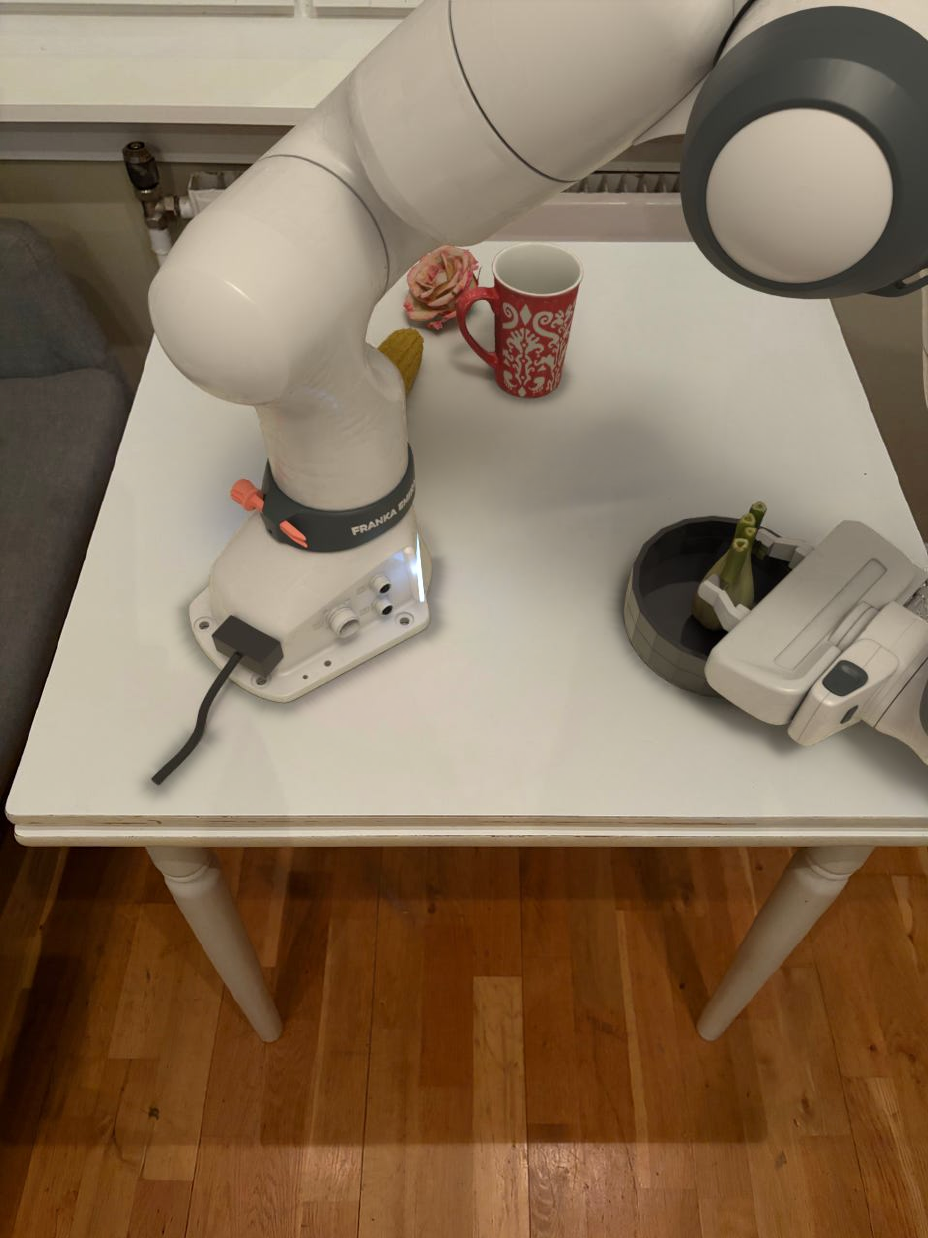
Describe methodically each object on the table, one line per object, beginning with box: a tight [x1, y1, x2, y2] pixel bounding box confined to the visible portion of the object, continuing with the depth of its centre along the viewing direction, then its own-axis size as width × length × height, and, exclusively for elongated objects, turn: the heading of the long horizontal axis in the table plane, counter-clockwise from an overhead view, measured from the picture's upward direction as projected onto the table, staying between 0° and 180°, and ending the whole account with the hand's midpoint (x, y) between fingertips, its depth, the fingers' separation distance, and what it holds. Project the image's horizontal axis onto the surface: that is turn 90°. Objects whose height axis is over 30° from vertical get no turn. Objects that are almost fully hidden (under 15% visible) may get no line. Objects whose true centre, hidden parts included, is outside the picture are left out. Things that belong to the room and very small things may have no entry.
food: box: [376, 327, 425, 400], centre depth 97 cm, size 21×6×6 cm, turn 165°
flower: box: [402, 245, 482, 330], centre depth 107 cm, size 10×9×8 cm
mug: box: [455, 241, 584, 399], centre depth 98 cm, size 13×9×14 cm
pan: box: [623, 515, 793, 700], centre depth 83 cm, size 16×16×5 cm
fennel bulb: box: [691, 500, 768, 631], centre depth 79 cm, size 6×5×12 cm
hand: (728, 560), depth 78 cm, fingers closed on fennel bulb, 5 cm apart
